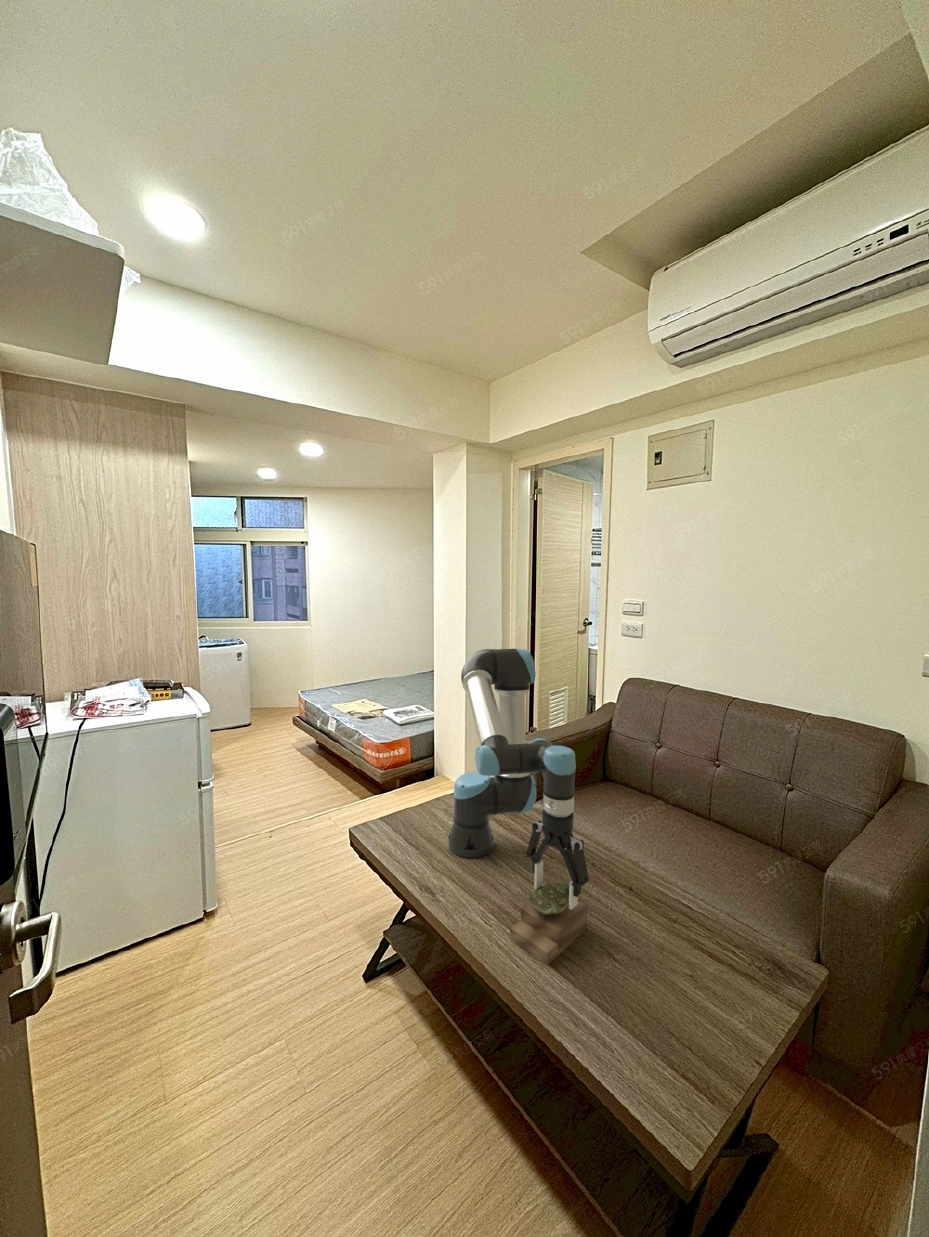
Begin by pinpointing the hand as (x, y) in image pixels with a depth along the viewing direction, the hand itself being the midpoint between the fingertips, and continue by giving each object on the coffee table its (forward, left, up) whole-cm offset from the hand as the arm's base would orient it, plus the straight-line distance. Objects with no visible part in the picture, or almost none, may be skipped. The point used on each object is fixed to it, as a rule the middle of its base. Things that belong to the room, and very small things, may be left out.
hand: (555, 896), depth 120 cm
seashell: (0, -1, -2) cm, 2 cm away
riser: (0, -2, -9) cm, 9 cm away
